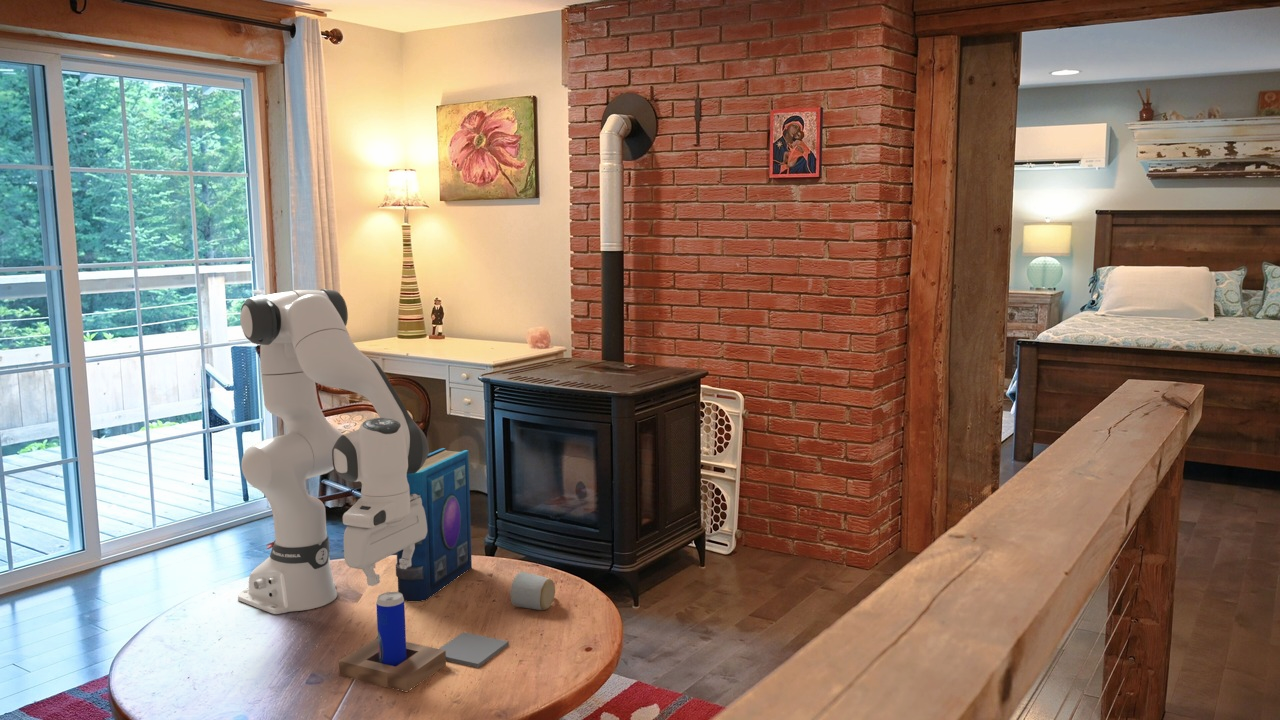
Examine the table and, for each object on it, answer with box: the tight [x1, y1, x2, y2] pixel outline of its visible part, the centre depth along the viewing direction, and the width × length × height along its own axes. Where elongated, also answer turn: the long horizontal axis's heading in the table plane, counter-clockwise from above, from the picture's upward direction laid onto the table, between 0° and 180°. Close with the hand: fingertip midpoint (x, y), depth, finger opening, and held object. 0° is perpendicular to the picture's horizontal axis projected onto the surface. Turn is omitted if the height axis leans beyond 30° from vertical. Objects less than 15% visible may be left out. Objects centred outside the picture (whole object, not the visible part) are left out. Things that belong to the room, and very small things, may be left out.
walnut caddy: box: [338, 636, 447, 692], centre depth 184 cm, size 16×12×3 cm
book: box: [395, 447, 473, 602], centre depth 226 cm, size 24×9×30 cm, turn 161°
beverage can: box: [376, 591, 407, 667], centre depth 184 cm, size 5×5×15 cm
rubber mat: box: [438, 631, 510, 669], centre depth 193 cm, size 11×11×1 cm
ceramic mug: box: [510, 571, 556, 611], centre depth 216 cm, size 11×8×8 cm
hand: (389, 575), depth 182 cm, fingers open, 8 cm apart
